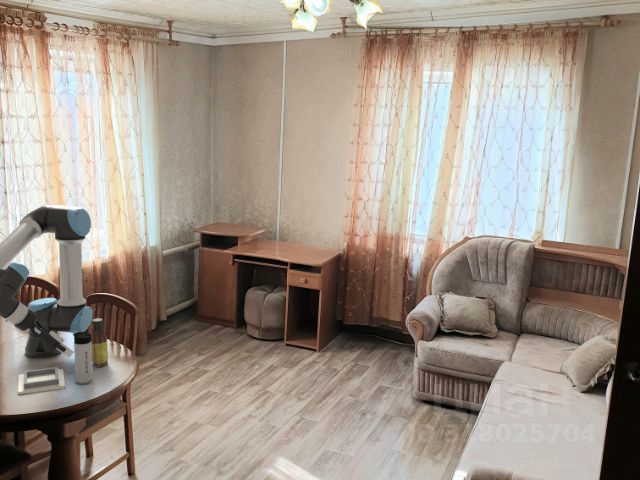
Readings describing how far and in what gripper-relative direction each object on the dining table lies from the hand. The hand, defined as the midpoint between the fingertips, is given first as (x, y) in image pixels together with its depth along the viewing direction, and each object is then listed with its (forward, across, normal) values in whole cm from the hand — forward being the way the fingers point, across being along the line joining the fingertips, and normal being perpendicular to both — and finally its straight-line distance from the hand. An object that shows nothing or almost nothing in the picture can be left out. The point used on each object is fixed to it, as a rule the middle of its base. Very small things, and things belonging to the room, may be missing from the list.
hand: (66, 348), depth 226 cm
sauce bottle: (+22, -14, 0) cm, 26 cm away
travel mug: (+15, -1, -7) cm, 17 cm away
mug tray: (+5, -8, -16) cm, 19 cm away
